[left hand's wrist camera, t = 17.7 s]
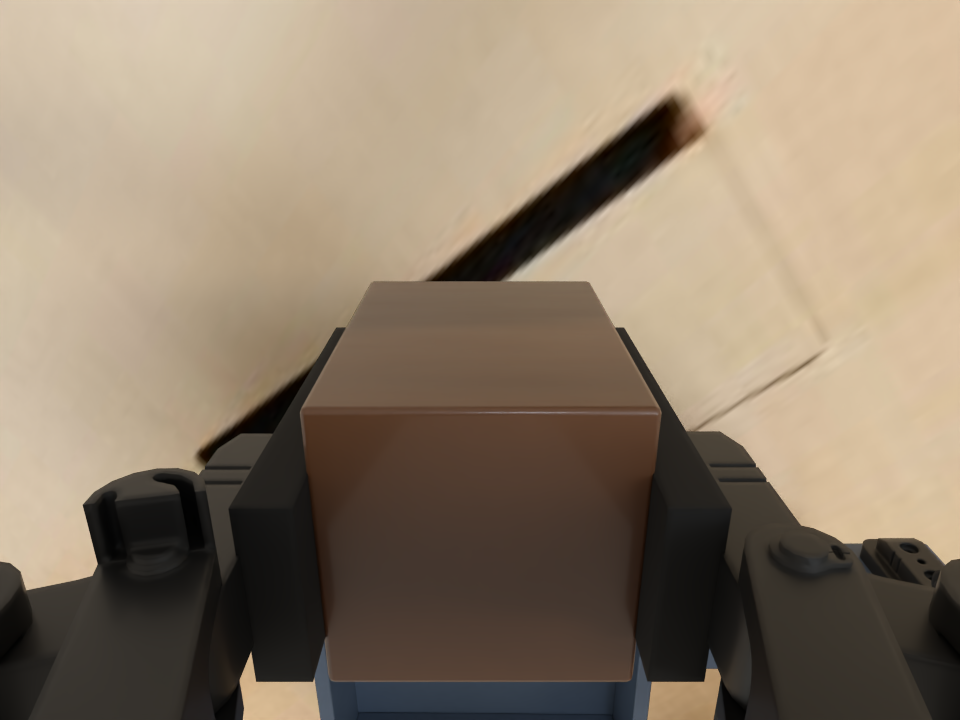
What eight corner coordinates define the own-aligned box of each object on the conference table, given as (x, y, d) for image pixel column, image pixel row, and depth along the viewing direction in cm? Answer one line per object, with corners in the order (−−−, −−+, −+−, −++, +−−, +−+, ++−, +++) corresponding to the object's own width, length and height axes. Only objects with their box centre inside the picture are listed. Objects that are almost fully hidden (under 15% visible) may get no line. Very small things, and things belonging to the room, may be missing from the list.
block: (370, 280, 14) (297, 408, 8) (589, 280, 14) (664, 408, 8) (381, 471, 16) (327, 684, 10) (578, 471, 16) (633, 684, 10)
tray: (349, 709, 33) (330, 791, 29) (310, 389, 26) (279, 441, 23) (875, 714, 32) (925, 799, 29) (972, 387, 26) (1054, 441, 22)
